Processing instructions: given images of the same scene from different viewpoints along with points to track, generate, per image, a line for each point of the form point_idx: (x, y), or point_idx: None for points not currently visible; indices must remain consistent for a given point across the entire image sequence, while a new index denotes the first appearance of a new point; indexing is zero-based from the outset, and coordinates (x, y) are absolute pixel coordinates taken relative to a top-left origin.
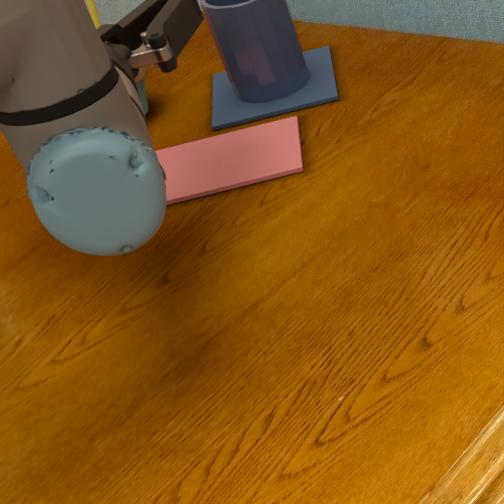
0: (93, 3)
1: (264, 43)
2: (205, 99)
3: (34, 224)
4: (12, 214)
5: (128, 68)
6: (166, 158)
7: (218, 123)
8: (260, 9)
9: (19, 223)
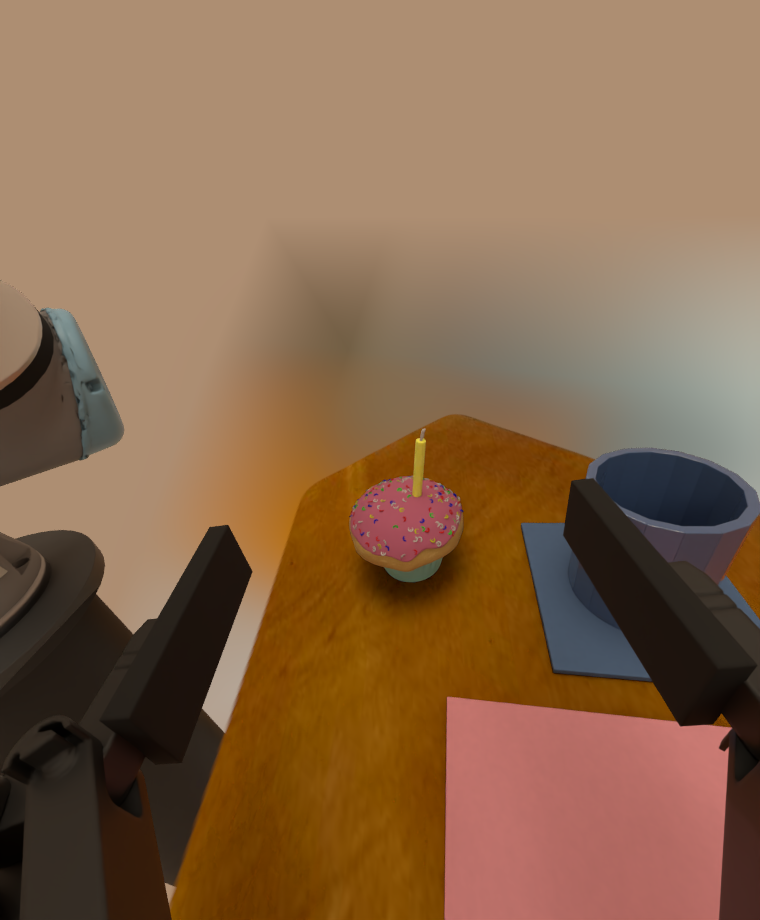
0: (423, 455)
1: None
2: (517, 568)
3: (231, 851)
4: (219, 766)
5: None
6: (484, 746)
7: (564, 664)
8: (733, 541)
9: (214, 820)
